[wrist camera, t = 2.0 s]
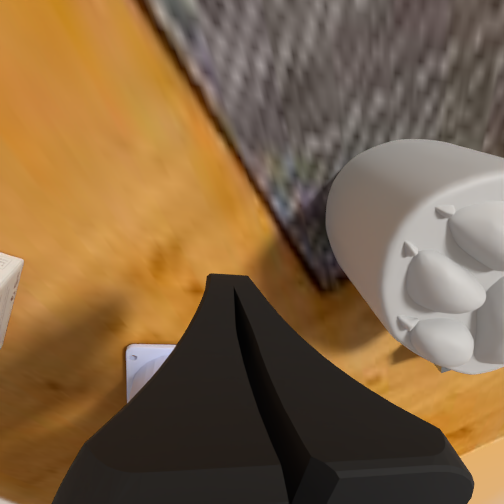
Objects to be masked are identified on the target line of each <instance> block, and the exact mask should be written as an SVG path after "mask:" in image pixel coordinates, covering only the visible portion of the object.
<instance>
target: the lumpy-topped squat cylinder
mask: <svg viewBox="0 0 504 504" xmlns="http://www.w3.org/2000/svg"><path fill="white" fill-rule="evenodd" d="M326 231H327V235H328V239H329V242H330V245H331V248H332V250H333V253H334V255H335V258H336V260H337V262H338V264H339V266H340V267H341V268H342V270H343V271H344V272H345V274H346V275H347V276H348V278H349V279H350V281H351V282H352V283H353V285H354V286H355V287H356V289H357V290H358V291H359V293H360V294H361V296H362V297H363V298H364V300H365V301H366V302H367V304H368V305H369V306H370V308H371V309H372V311H373V312H374V313H375V315H376V316H377V317H378V319H379V320H380V321H381V323H382V324H383V325H384V327H385V328H386V329H387V331H388V332H389V333H390V334H391V335H392V336H393V337H394V338H395V339H396V340H397V341H399V342H400V343H401V344H403V345H404V346H405V347H407V348H408V349H409V350H411V351H412V352H414V353H415V354H417V355H419V356H421V357H423V358H424V359H426V360H428V361H430V362H432V363H434V364H436V365H438V366H442V367H446V368H448V369H451V370H453V371H456V372H460V373H465V374H481V373H485V372H490V371H493V370H496V369H499V368H502V367H504V158H501V157H497V156H494V155H490V154H487V153H483V152H479V151H476V150H472V149H468V148H465V147H461V146H457V145H454V144H450V143H446V142H442V141H435V140H424V139H403V140H395V141H391V142H387V143H384V144H381V145H378V146H375V147H373V148H371V149H368V150H366V151H364V152H362V153H360V154H359V155H357V156H356V157H354V158H353V159H352V160H350V161H349V162H348V163H347V164H346V165H345V166H344V167H343V168H342V170H341V171H340V172H339V174H338V175H337V177H336V178H335V180H334V182H333V184H332V186H331V189H330V192H329V195H328V200H327V206H326Z"/></svg>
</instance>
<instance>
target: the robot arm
mask: <svg viewBox="0 0 504 504" xmlns="http://www.w3.org/2000/svg"><path fill="white" fill-rule="evenodd" d="M132 355H135V356H132ZM126 377H127V404H126V405H125V406H124V407H123V408H122V409H121V410H120V411H119V412H118V413H117V414H116V415H115V416H114V417H113V418H111V419H110V420H109V421H108V422H107V423H106V424H105V425H104V426H103V427H102V428H101V429H99V430H98V431H97V432H96V433H95V434H94V435H93V436H92V437H91V438H90V439H89V440H87V441H86V442H85V443H84V445H83V446H82V448H81V450H80V451H79V453H78V455H77V456H76V458H75V460H74V461H73V463H72V465H71V467H70V468H69V470H68V472H67V474H66V476H65V478H64V479H63V481H62V483H61V485H60V487H59V489H58V491H57V493H56V495H55V497H54V500H53V502H52V504H467V503H468V501H469V500H470V499H471V497H472V493H473V489H474V481H473V478H472V475H471V473H470V472H469V471H468V469H467V468H466V466H465V465H464V463H463V462H462V460H461V459H460V457H459V456H458V454H457V453H456V451H455V450H454V448H453V447H452V445H451V444H450V443H449V441H448V440H447V438H446V437H445V435H444V434H443V433H442V431H441V430H440V429H439V428H437V427H435V426H433V425H432V424H430V423H428V422H426V421H424V420H422V419H420V418H418V417H417V416H415V415H413V414H411V413H409V412H407V411H405V410H404V409H402V408H400V407H398V406H396V405H394V404H393V403H391V402H389V401H388V400H386V399H384V398H383V397H381V396H379V395H378V394H376V393H375V392H373V391H371V390H370V389H368V388H367V387H365V386H364V385H362V384H361V383H359V382H358V381H356V380H355V379H353V378H352V377H350V376H349V375H347V374H346V373H345V372H343V371H342V370H341V369H339V368H338V367H336V366H335V365H334V364H332V363H331V362H330V361H329V360H327V359H326V358H325V357H323V356H322V355H321V354H320V353H319V352H318V351H316V350H315V349H314V348H313V347H312V346H311V345H309V344H308V343H307V342H306V341H305V340H304V339H303V338H302V337H301V336H299V335H298V334H297V333H296V332H295V331H294V330H293V329H292V328H291V327H290V326H289V325H288V324H287V322H286V321H285V320H284V319H283V318H282V317H281V316H280V315H279V314H278V313H277V311H276V310H275V309H274V308H273V307H272V306H271V304H270V303H269V302H268V301H267V300H266V298H265V297H264V296H263V295H262V293H261V292H260V291H259V289H258V288H257V287H256V286H255V284H254V283H253V282H252V280H251V279H250V278H249V277H248V276H242V275H227V274H209V275H208V276H207V280H206V288H205V292H204V295H203V297H202V300H201V302H200V304H199V307H198V309H197V311H196V313H195V315H194V317H193V319H192V320H191V322H190V324H189V326H188V328H187V329H186V331H185V333H184V334H183V336H182V338H181V339H180V341H179V342H178V344H177V345H162V344H131V345H129V346H128V347H127V350H126Z"/></svg>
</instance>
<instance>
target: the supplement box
mask: <svg viewBox="0 0 504 504" xmlns="http://www.w3.org/2000/svg"><path fill="white" fill-rule="evenodd" d="M23 264H24V260H23V259H21V258H17V257H14V256H10V255H7V254H4V253H1V252H0V349H1V347H2V346H3V342H4V337H5V333H6V330H7V326H8V322H9V318H10V314H11V310H12V307H13V303H14V299H15V295H16V291H17V287H18V284H19V280H20V275H21V272H22V268H23Z"/></svg>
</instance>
